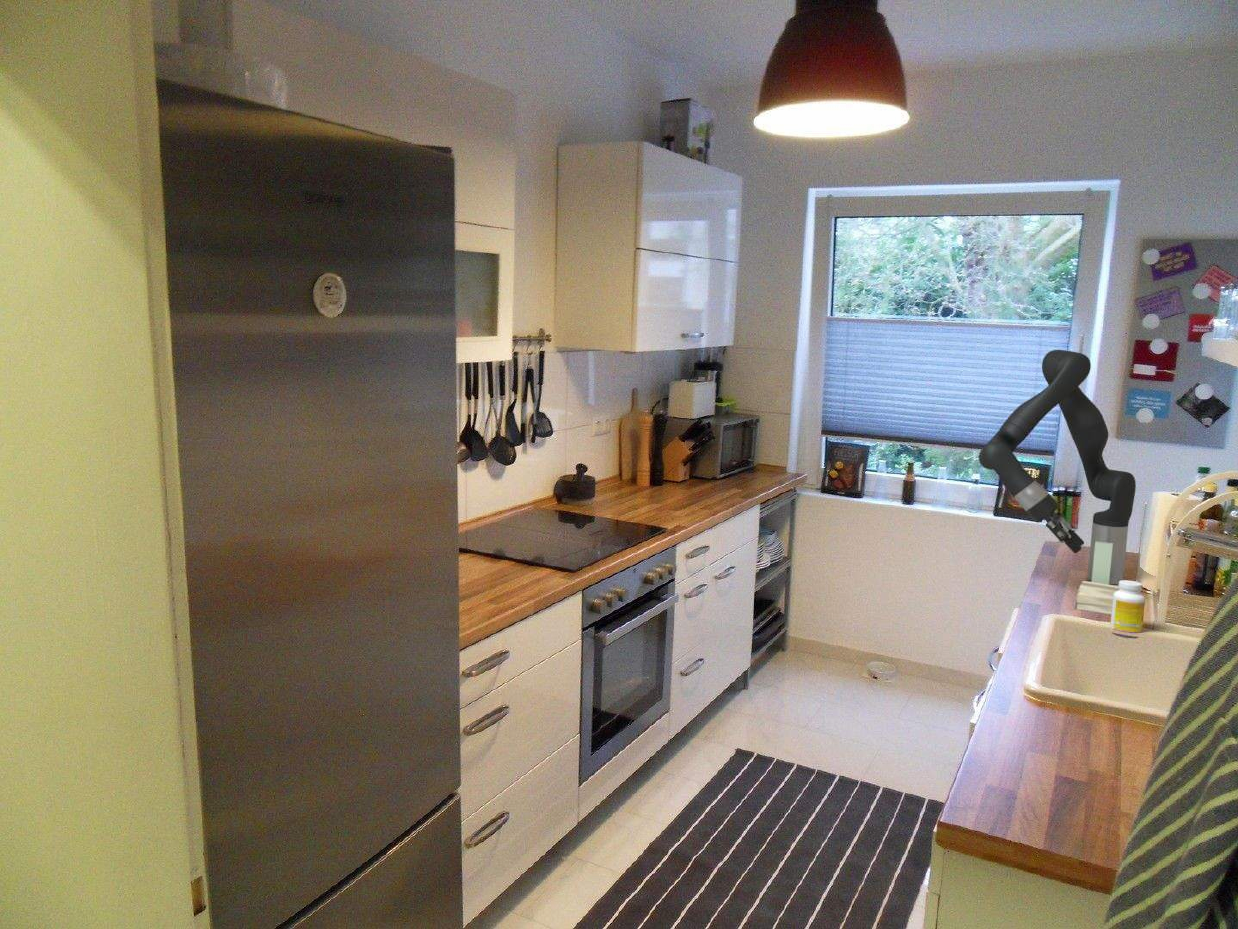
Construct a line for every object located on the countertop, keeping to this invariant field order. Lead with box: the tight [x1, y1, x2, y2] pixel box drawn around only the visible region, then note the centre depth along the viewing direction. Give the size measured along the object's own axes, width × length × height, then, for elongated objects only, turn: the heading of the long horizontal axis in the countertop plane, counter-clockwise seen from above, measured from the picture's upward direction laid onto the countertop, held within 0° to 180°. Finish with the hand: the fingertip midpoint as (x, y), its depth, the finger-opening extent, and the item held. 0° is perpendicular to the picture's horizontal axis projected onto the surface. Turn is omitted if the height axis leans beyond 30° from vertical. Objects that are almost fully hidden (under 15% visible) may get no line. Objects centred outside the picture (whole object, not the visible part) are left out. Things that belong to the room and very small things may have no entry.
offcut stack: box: [1076, 580, 1120, 615], centre depth 224 cm, size 7×10×6 cm
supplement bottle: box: [1109, 579, 1146, 639], centre depth 207 cm, size 7×7×13 cm
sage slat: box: [1091, 542, 1113, 585], centre depth 229 cm, size 2×4×16 cm, turn 58°
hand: (1080, 548), depth 231 cm, fingers open, 8 cm apart
